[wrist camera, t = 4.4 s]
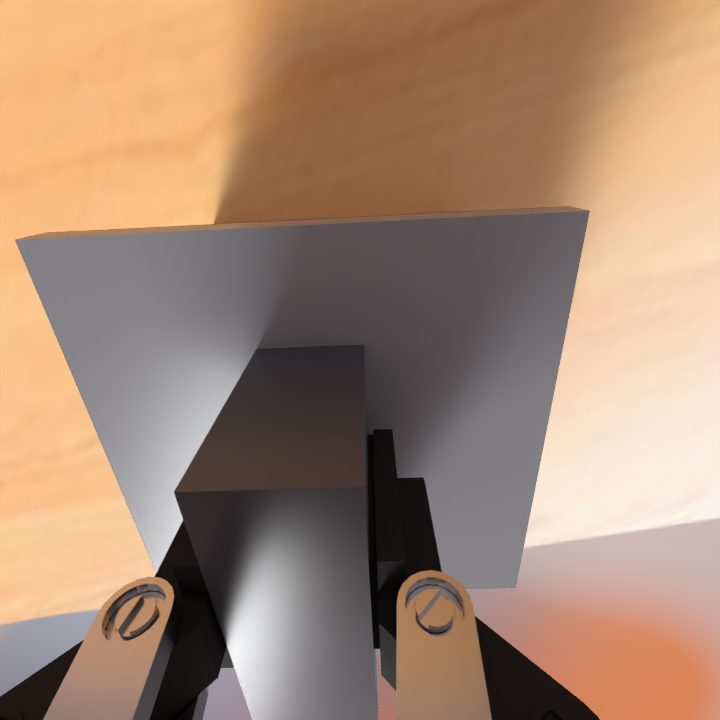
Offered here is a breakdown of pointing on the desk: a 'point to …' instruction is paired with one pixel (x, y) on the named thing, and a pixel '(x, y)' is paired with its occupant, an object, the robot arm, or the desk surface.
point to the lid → (316, 408)
